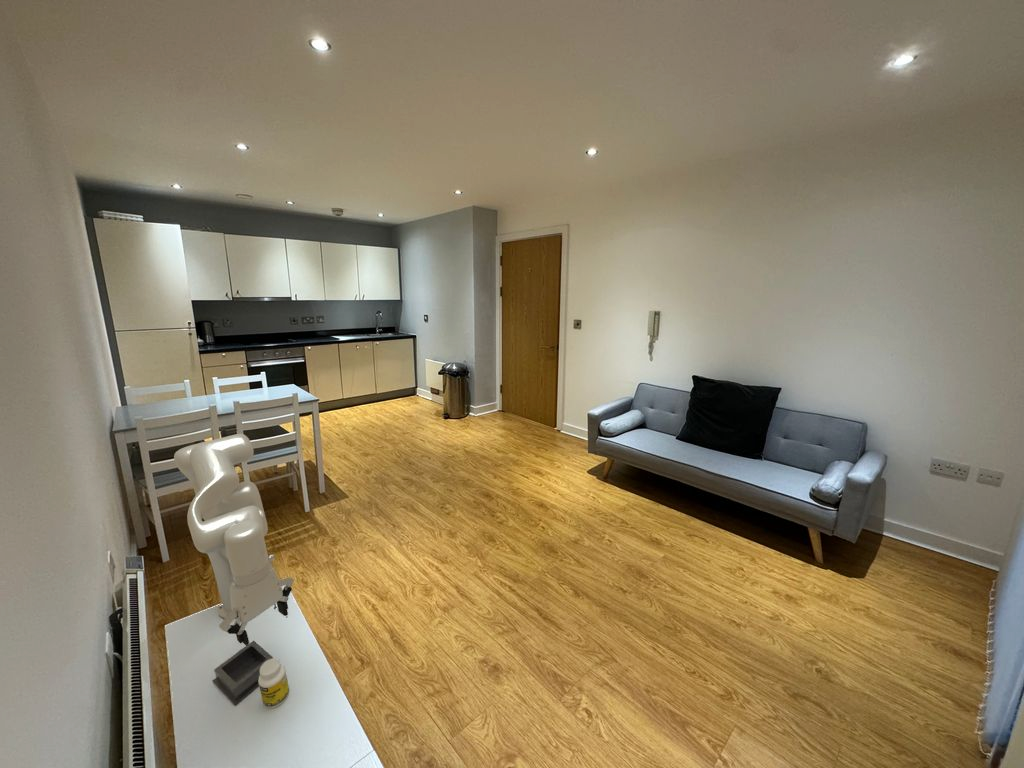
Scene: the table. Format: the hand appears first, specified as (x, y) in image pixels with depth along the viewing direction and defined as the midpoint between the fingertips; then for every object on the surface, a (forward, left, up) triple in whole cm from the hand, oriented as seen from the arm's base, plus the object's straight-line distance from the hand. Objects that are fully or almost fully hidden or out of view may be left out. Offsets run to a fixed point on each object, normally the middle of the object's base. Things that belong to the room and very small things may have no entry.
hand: (264, 627), depth 101 cm
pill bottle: (-1, -1, -24) cm, 24 cm away
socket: (-14, -2, -24) cm, 27 cm away
